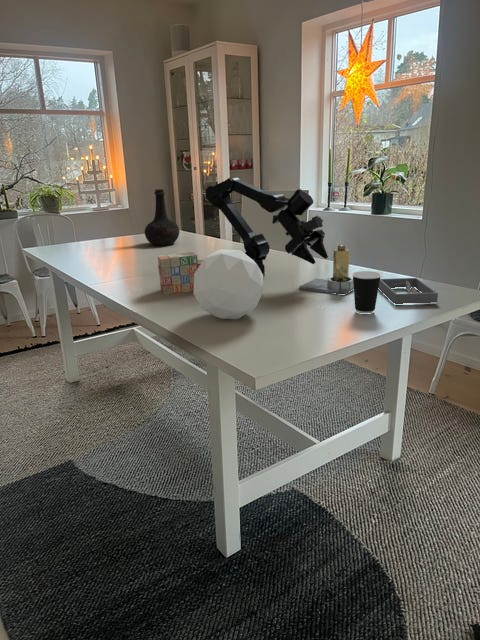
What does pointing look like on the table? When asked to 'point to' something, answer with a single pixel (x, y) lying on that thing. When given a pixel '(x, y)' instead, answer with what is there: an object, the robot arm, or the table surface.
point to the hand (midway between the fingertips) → (320, 260)
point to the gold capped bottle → (340, 264)
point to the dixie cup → (365, 290)
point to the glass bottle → (161, 224)
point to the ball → (228, 284)
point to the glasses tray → (424, 297)
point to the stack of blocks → (177, 272)
